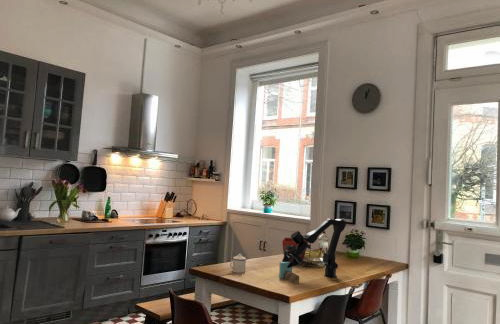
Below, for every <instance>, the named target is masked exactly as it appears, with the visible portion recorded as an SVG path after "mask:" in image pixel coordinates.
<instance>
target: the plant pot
mask: <svg viewBox="0 0 500 324" xmlns="http://www.w3.org/2000/svg"><path fill="white" fill-rule="evenodd" d="M304 241H305V240H304ZM281 242H282V250H283V251H282V252H284V251H285V250H287V249H285V247H286V245H287V244H288V245H290V246H292V245H294V246H295V247H296V246H297V245H298V244H296V243H295V242H294V241H293V240H292V239H291V237H284V238H283V239H282V241H281ZM305 242H306V241H305ZM307 243H308V242H307ZM308 244H309V243H308ZM287 251H289V250H287ZM305 252H306V253H307V249H306V250H305V251H304V252H303V255H302V254H301V255H300V257H301V258H302V259H303V260H304V259H305V256H304V255H306V253H305ZM291 261H292V259H290V261H288V262H291Z"/></svg>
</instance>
